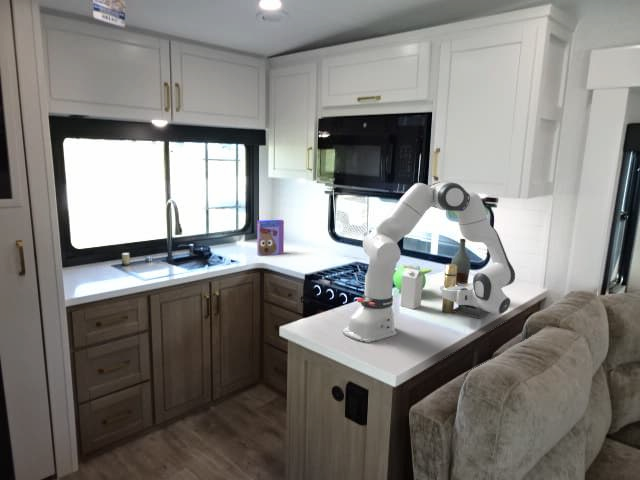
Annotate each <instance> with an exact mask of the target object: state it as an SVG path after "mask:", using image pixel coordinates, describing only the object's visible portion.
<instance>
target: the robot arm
mask: <svg viewBox="0 0 640 480" xmlns="http://www.w3.org/2000/svg"><path fill="white" fill-rule="evenodd" d="M430 208H435V209H439V210H441V211H449V212H454V213H455V214H456V216H457V222H458V226H459V230H460V234H461V235H462V237H464V238H463V239H466V241H467V240H468V241H470V242H473V243H483V244H484V245H485V246H486V248H487V250H488V253H489V256H490V258H491V261H492V263H491V266H489V267H487V268H485V269H483V270H481V271H479V272H477V273H475V275H474V276H473V279H472V282H468V284H459V283H456V286H453V287H448V288H445V286H444V285H442V286H440V287H439V290H440V291H441V297H442V299H443V298H445V299H448V300H450V301H453V302H454V303H456V305H470V306H474V307H480V308H482V309H483V310H485V311H488V312H491V314H495V315H502V314H504V313H505V312H507V311H508V309H509V308H510V305H511V298H510V297H509V296H507V295H506V294H505V292H504V291H503V288H505V287H507V286H509V285H511V284H512V285H513V283H514V281H515V279H516V272H515V269H514V267H513V266H512V264H511V262H510V261H509V258H508V256H507V253H506V251H505V248H504V246H503V243H502V240H501V238H500V236H499V233H498V231H497V230H496V229H495V227H492V226H491V223H490V221H489V218H488V214H487V211H486V207H485V205H484V203H483V201H482V199H481V196H480V195H479V194H478V193H474V192H468V191H466V189H465V188H464V187H463V186H462V185H460V184H459V183H457V182H456V183H455V182H451V181H439V182H435V183H433V184H431V185H428V184H425V183H422V182H416V183H414V184H413V185H412V186H411V187H409V189H408V190H407V191H405V193H404V194H403V195H402V196H401V197H400V198H399V200H398V201H397V203H396V204H395V205H394V207H393V208H392V209H391V210H390V211H389V213H388V214H387V215H386V217H384V219H383V220H381V222H380V223H379V224H377V225H376V227H374V228H373V230H372V231H369V232H368V233H367V234H365V236H364V238H363V239H362V248H363V251H364V253H365V254H366V256H368V259H369V262H368V268H367V270H366V271H367V272H366V273H365V276H364V279H365V280H364V293H363V296H362V297H358V298H357V299H356V301H357V303H360V305H359V307H357V309H356V310H355V311H354V312H353V313H352V315H351V316H350V318H349V320H348V325H347V326H346V327H345V328H343V329H342V331H341V332H342V334H343V333H344V334H343V335H345V336H346V335H347V336H346V337H348V336H349V337H348V338H350V337H351V338H350V339H352V338H354V339H353V340H355V339H357V340H356V341H358V340H360V341H359V342H362V341H365V342H364V343H372V342H375V340H376V341H379V340H382V339H385V338H391V337H393V336H396V335H397V331H396V330H395V316H394V315H395V313H394V311H393V305H394V296H393V286H394V285H393V284H394V281H393V276H394V273H395V272H396V269H397V268H396V267H397V264H398V262H399V261H400V259H401V256H402V255H401V254H402V252H401V249H400V247H399V245H398V242H400V240H402V238H404V237H405V236H407V235H409V234H410V233H411V232H412V231H413V230H414V229H415V227H416V226H417V225H418V223H419V222H420V220H421V219H422V218H423V216H424V215H425V214H426V212H427V211H428V210H429V209H430ZM371 341H372V342H371Z"/></svg>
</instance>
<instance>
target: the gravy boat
mask: <svg viewBox="0 0 640 480" xmlns="http://www.w3.org/2000/svg"><path fill="white" fill-rule="evenodd" d="M406 266H409V265H408V264H403V266H401V267H398V268H396V269H395V272H394V276H393V284H394V286H395V287H396V289H398V291H400V292H401V286H402V275H403V273H404V271H405V269H406ZM410 266H411V267H414V266H413V265H410ZM415 267H416V268H420V266H419V265H416V266H415ZM420 271H421V273H422V275H423V280H422V290H423V289H424V288H425V286H426V283H427V280H426V279H427V278H426V274H429V273H430V272H433V271H432V269H430V268H429V269H427V268H425V269H424V268H423V269H421V268H420Z"/></svg>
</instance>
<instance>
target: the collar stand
mask: <svg viewBox="0 0 640 480" xmlns="http://www.w3.org/2000/svg"><path fill="white" fill-rule="evenodd" d="M457 305H458V304H457ZM453 313H457V314H458V313H459V314H461V315H466V316H468V317H472V318H475V319H479V320H481V319H483V318H485V317H488V316H489V315H491V314H492V313H491V312H488V311H485V310H483V309H482V308H480V307H474V306H470V305H458V306H457V307H456V308H454V309H453ZM490 313H491V314H490ZM488 314H489V315H488Z"/></svg>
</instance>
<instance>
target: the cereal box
mask: <svg viewBox="0 0 640 480" xmlns="http://www.w3.org/2000/svg"><path fill="white" fill-rule="evenodd" d="M256 222H257V223H256V226H257V228H256V230H257V231H256V233H257V234H256V235H257V236H256V237H257V238H256V239H257V240H256V242H257V243H256V245H257V247H256V248H257V254H256V255H258V256H259V257H265V256H268V257H269V256H280V255H284V253H285V252H284V245H285V243H284V242H285V241H284V239H285V233H284V230H285V228H284V227H285V224H284V223H285V221H284V219H271V220H270V219H269V220H268V219H267V220H257V221H256Z"/></svg>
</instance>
